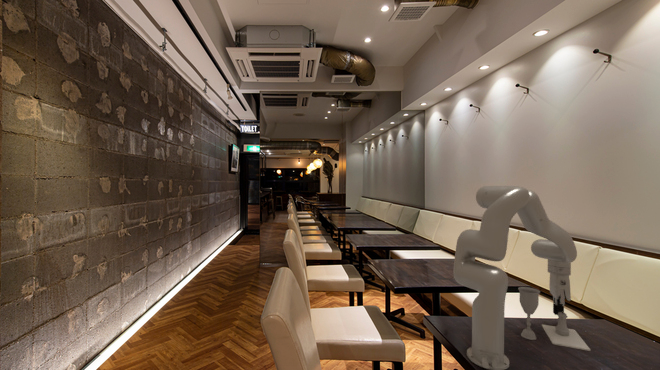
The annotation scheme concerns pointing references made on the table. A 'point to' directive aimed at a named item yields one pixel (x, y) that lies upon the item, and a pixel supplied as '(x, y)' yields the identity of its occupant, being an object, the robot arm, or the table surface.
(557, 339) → the grey mat
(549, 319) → the table surface
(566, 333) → the rook chess piece
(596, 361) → the table surface
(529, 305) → the chalice
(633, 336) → the table surface
